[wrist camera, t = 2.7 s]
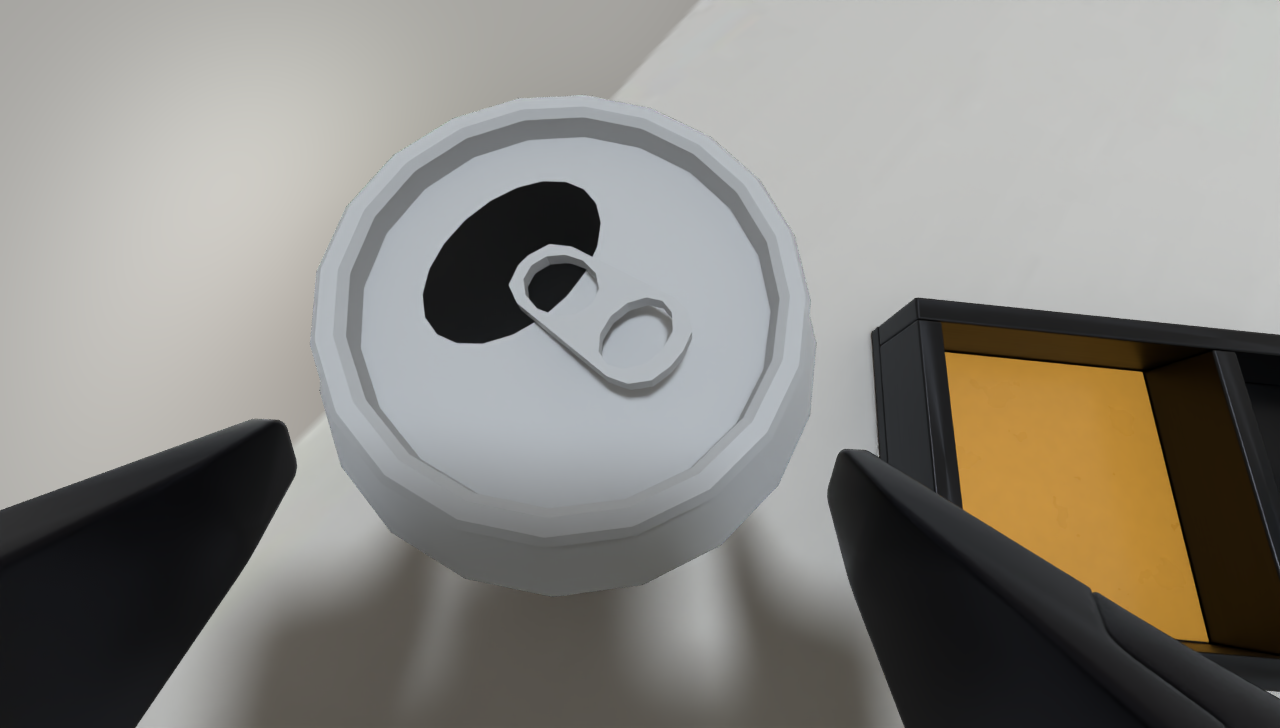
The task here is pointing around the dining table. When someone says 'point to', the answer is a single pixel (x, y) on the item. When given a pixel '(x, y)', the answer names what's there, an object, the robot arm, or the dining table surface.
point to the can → (564, 344)
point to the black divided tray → (1105, 456)
